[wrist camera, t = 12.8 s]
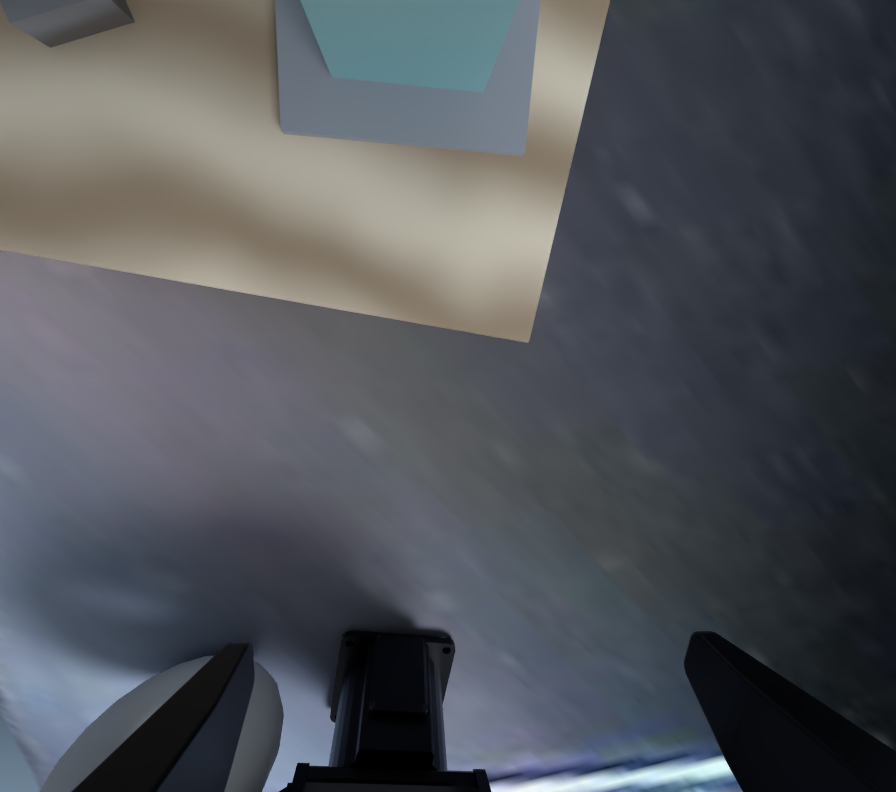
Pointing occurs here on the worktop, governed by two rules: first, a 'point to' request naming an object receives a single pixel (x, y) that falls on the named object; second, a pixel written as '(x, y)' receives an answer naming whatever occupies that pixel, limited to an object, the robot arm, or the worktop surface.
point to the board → (270, 167)
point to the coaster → (406, 95)
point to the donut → (145, 699)
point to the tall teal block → (412, 39)
